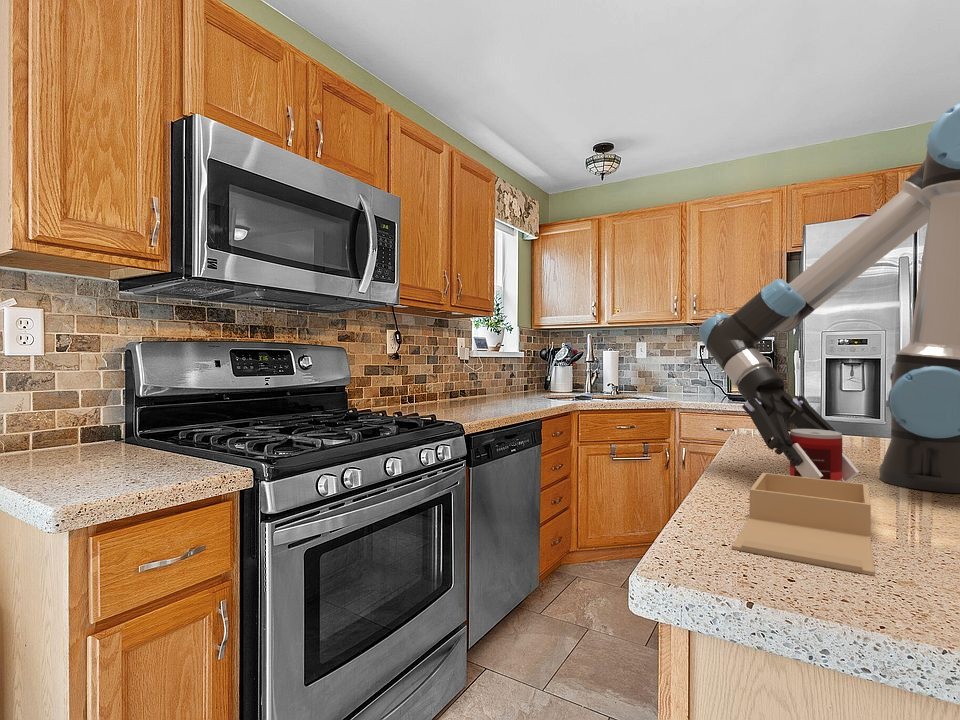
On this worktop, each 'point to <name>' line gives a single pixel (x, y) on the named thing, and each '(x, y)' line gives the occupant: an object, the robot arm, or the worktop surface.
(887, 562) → the worktop surface
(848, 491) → the mailer box
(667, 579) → the worktop surface
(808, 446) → the canned food
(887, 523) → the worktop surface
